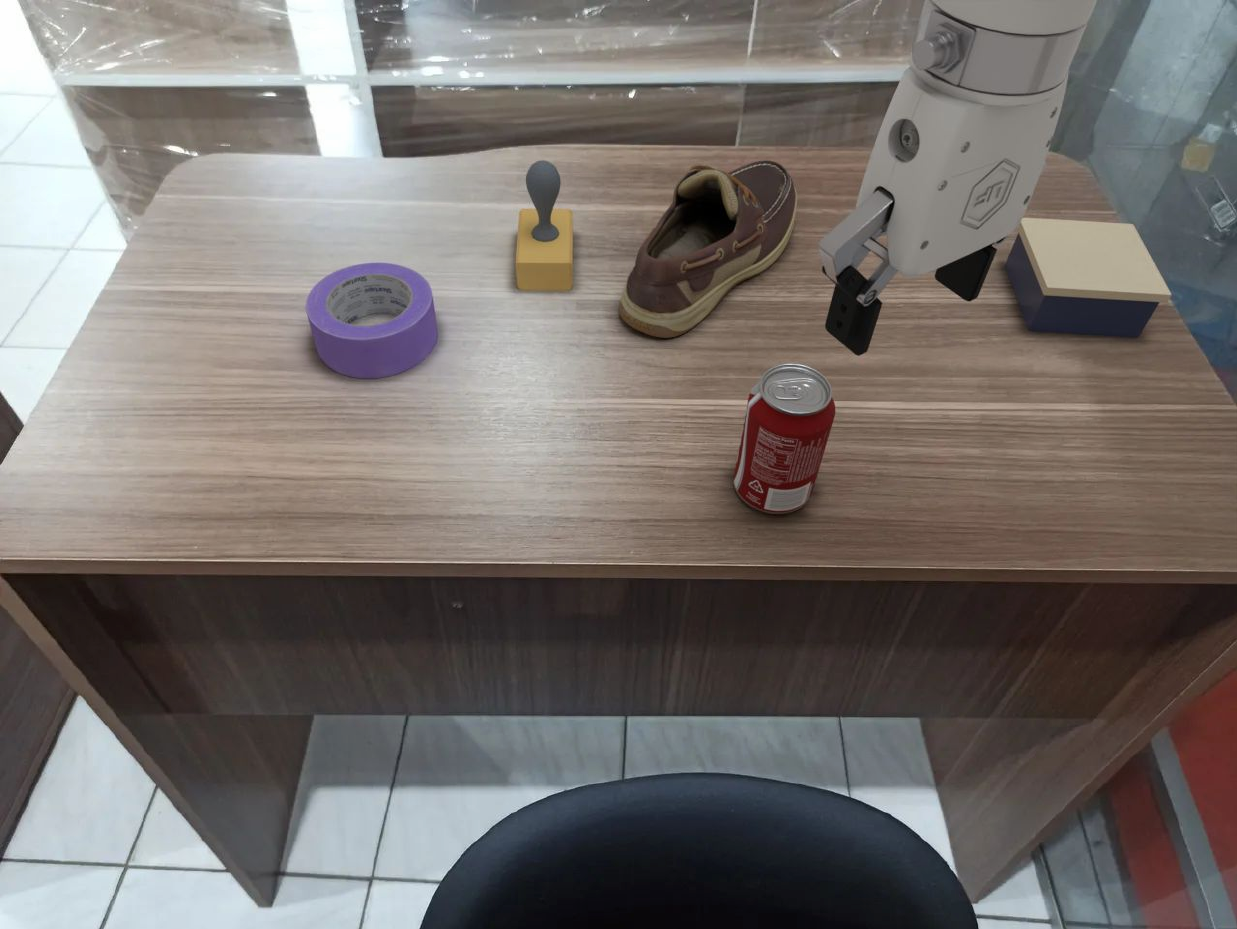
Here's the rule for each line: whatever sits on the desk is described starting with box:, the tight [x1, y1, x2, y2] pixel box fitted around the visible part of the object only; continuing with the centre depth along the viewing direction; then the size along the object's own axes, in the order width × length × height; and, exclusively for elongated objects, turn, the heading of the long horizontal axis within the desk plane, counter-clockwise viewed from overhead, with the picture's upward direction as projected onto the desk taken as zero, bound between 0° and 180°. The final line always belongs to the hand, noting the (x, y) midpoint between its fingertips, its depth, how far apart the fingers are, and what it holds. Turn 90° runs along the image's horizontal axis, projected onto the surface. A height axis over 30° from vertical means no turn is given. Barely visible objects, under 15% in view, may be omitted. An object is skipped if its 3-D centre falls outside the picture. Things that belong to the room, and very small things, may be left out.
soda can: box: [732, 363, 836, 515], centre depth 73 cm, size 7×7×12 cm
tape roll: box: [305, 262, 439, 380], centre depth 87 cm, size 12×12×5 cm
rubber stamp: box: [515, 160, 574, 291], centre depth 93 cm, size 10×6×12 cm, turn 2°
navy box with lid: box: [1004, 217, 1173, 339], centre depth 94 cm, size 12×12×6 cm
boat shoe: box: [618, 159, 798, 339], centre depth 95 cm, size 30×11×11 cm, turn 144°
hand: (901, 314), depth 57 cm, fingers open, 9 cm apart
